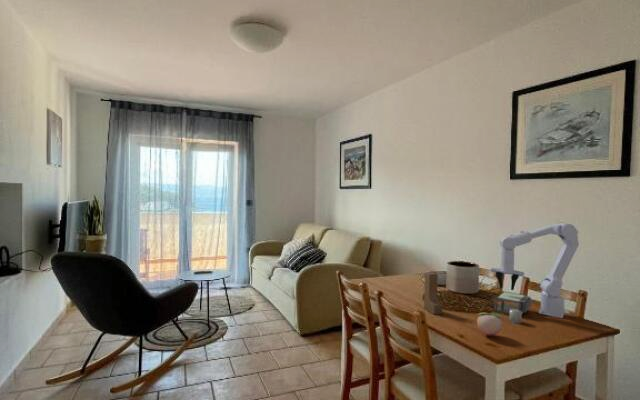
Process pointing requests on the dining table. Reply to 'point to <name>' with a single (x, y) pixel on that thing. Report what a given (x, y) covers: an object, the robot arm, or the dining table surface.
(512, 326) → the dining table surface
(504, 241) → the robot arm
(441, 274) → the tin
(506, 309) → the trapdoor frame
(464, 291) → the planter
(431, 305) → the grey upright bracket
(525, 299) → the trapdoor
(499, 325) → the decorative fruit
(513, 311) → the stone
